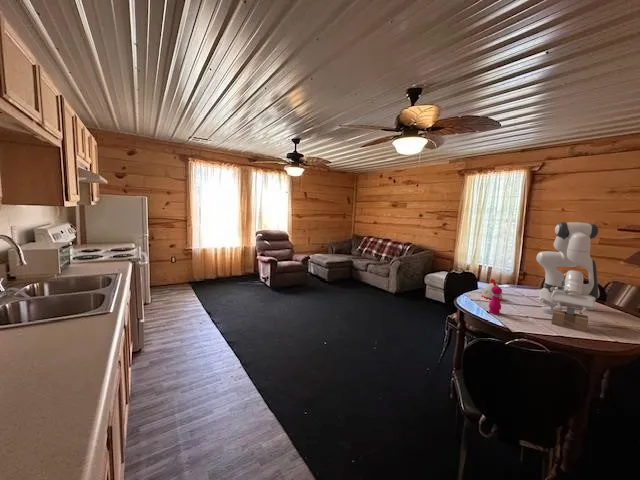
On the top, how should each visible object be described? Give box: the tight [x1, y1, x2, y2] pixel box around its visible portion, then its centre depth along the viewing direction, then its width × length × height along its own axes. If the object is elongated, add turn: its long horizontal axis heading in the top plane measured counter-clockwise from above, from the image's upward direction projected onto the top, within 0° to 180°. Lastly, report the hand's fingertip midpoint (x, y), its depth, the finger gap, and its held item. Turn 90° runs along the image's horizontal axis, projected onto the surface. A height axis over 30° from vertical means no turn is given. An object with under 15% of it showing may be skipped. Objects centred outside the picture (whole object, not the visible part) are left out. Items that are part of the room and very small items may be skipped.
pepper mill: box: [488, 283, 503, 315], centre depth 191 cm, size 7×7×20 cm
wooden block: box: [550, 308, 589, 333], centre depth 173 cm, size 8×16×8 cm, turn 49°
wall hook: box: [539, 298, 558, 315], centre depth 196 cm, size 9×10×10 cm
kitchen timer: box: [481, 278, 503, 302], centre depth 223 cm, size 14×14×15 cm
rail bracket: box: [565, 306, 576, 316], centre depth 173 cm, size 4×4×10 cm
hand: (570, 311), depth 172 cm, fingers open, 8 cm apart
